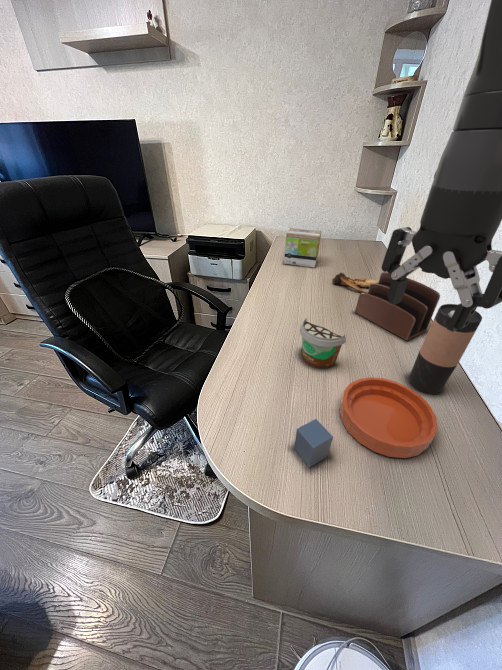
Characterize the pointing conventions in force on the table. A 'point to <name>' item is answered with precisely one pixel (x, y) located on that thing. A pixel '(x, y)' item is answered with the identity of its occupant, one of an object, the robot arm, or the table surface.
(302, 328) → the food container
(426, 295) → the letter holder
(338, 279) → the brown wood root
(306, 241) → the tea box
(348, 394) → the bowl
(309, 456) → the block
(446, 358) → the travel mug
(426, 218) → the robot arm
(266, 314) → the table surface
